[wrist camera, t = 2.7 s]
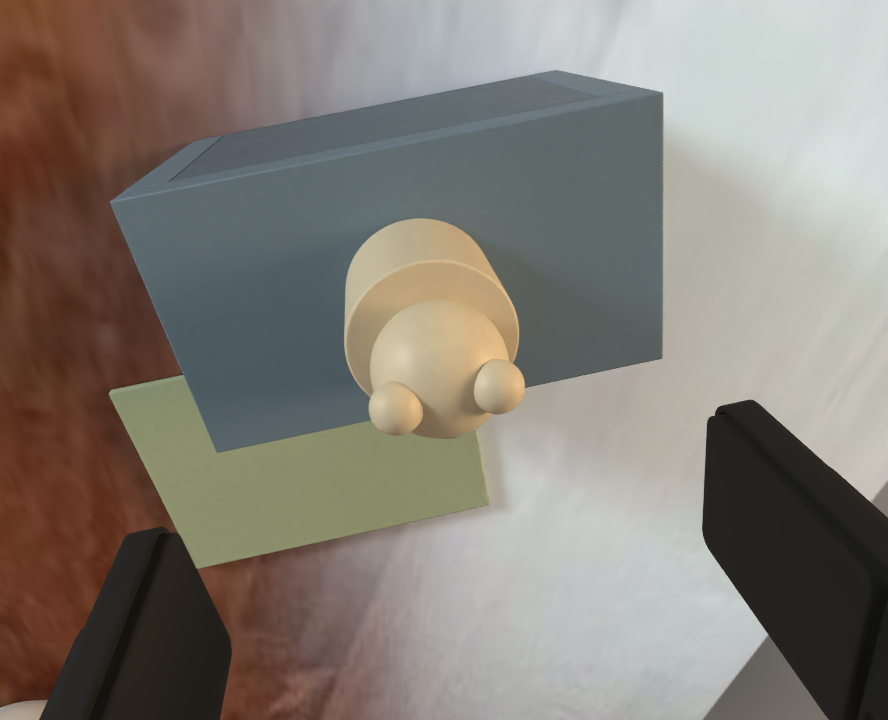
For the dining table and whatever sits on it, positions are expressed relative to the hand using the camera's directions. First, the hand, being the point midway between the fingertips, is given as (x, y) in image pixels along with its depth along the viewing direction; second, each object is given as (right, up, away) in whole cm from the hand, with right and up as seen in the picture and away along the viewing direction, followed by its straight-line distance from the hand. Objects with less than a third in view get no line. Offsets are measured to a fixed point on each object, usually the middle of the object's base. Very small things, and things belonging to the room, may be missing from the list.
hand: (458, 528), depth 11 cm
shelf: (-3, +11, +22) cm, 25 cm away
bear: (-1, +5, +11) cm, 13 cm away
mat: (-8, -3, +28) cm, 30 cm away
